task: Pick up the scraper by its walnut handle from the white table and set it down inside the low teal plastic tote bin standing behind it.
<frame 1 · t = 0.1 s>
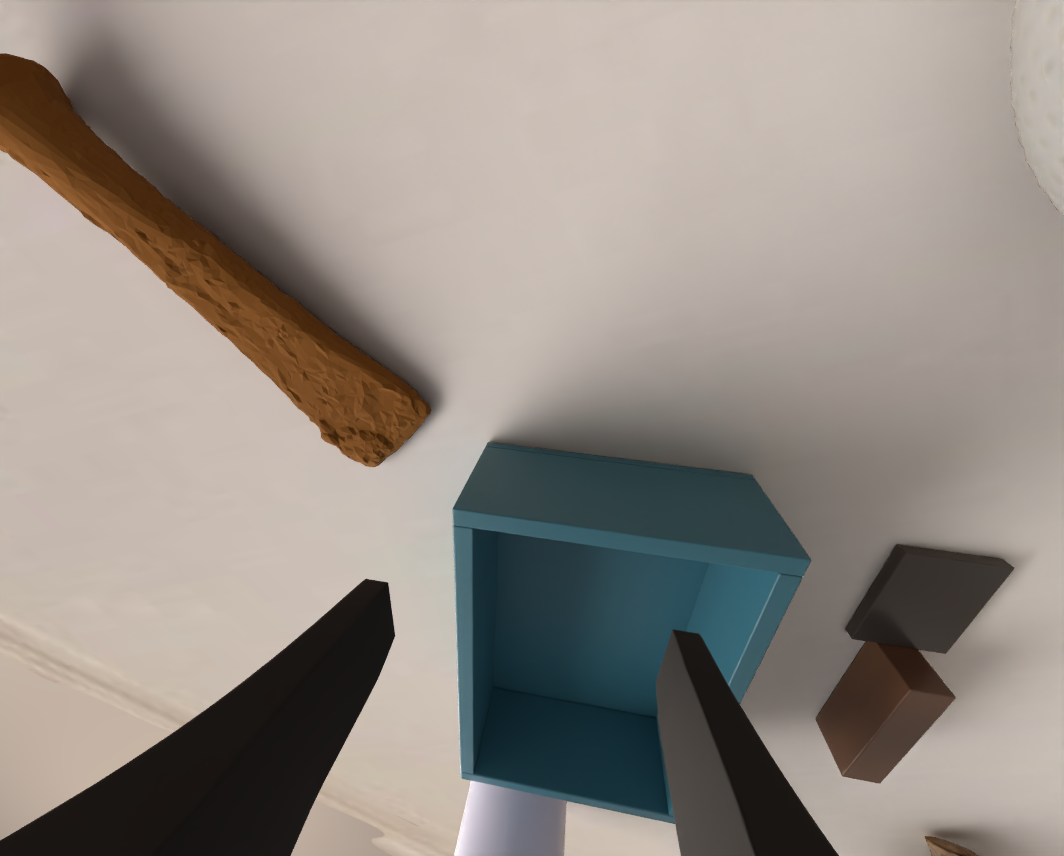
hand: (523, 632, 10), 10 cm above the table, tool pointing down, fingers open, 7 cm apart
scraper: (881, 648, 21), on the table
bin: (589, 601, 23), on the table
mushroom: (939, 844, 29), on the table
primitive tool: (263, 292, 18), on the table
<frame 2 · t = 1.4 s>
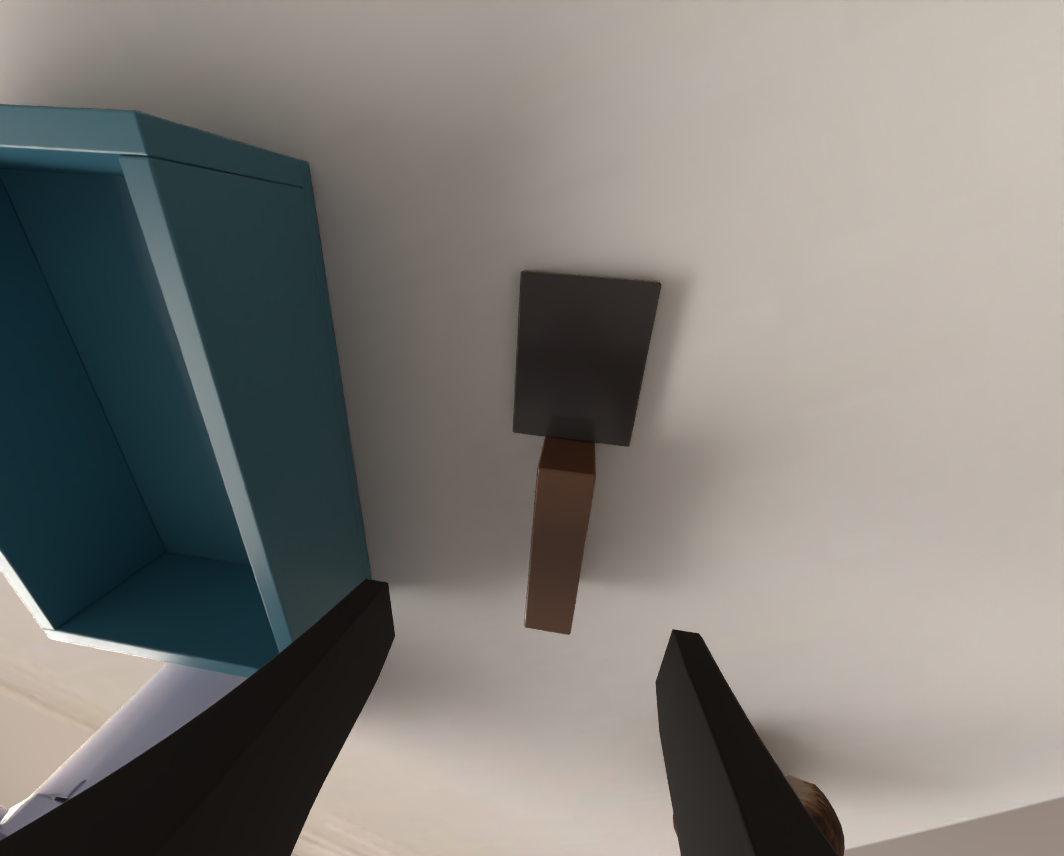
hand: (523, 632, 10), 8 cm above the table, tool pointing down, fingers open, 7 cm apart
scraper: (568, 454, 16), on the table
bin: (218, 410, 18), on the table
mushroom: (733, 753, 23), on the table
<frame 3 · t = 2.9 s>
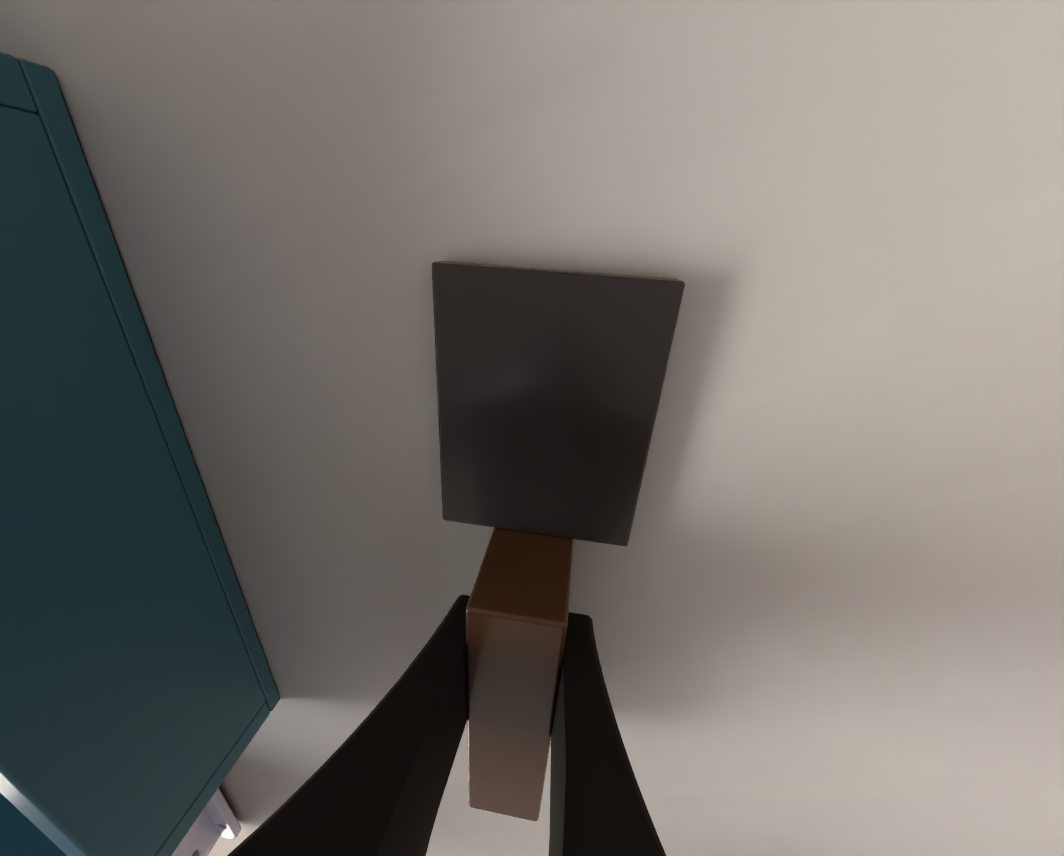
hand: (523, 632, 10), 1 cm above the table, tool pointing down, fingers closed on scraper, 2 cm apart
scraper: (533, 548, 11), on the table, touching gripper
bin: (25, 472, 12), on the table
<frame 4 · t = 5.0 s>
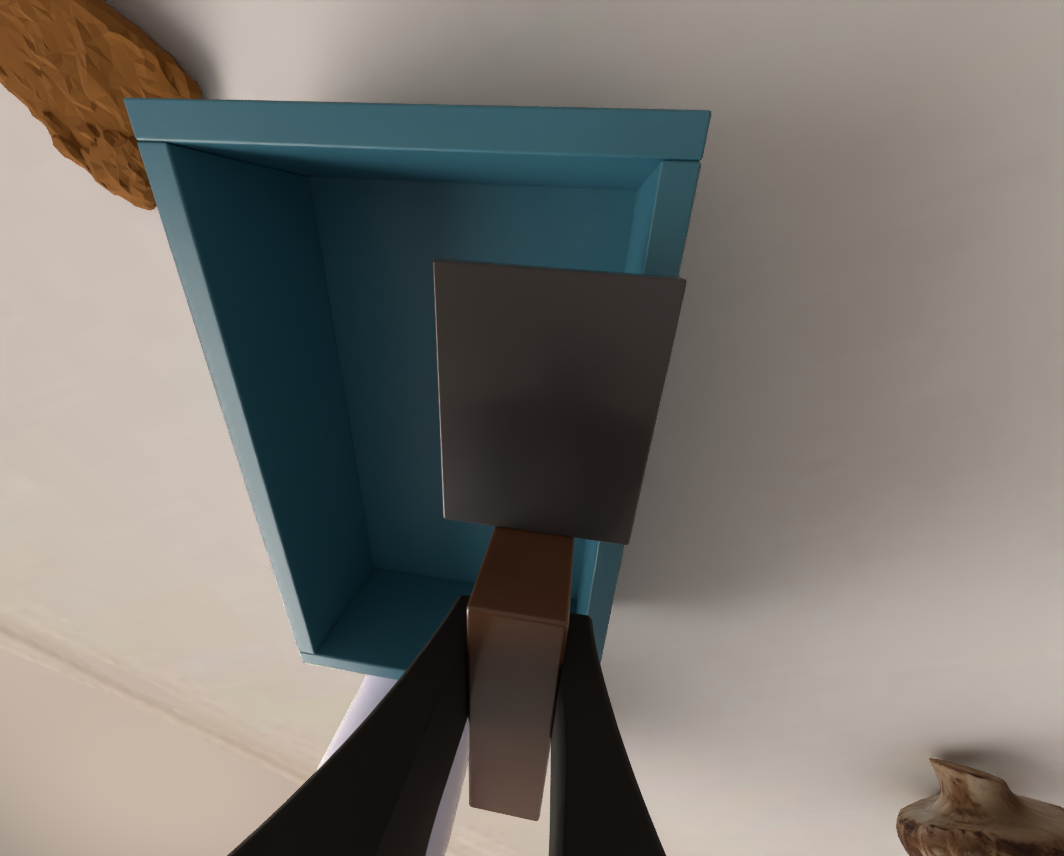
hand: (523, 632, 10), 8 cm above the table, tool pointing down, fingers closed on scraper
scraper: (534, 547, 10), point 7 cm above the table, touching gripper
bin: (473, 424, 17), on the table
mushroom: (947, 771, 23), on the table
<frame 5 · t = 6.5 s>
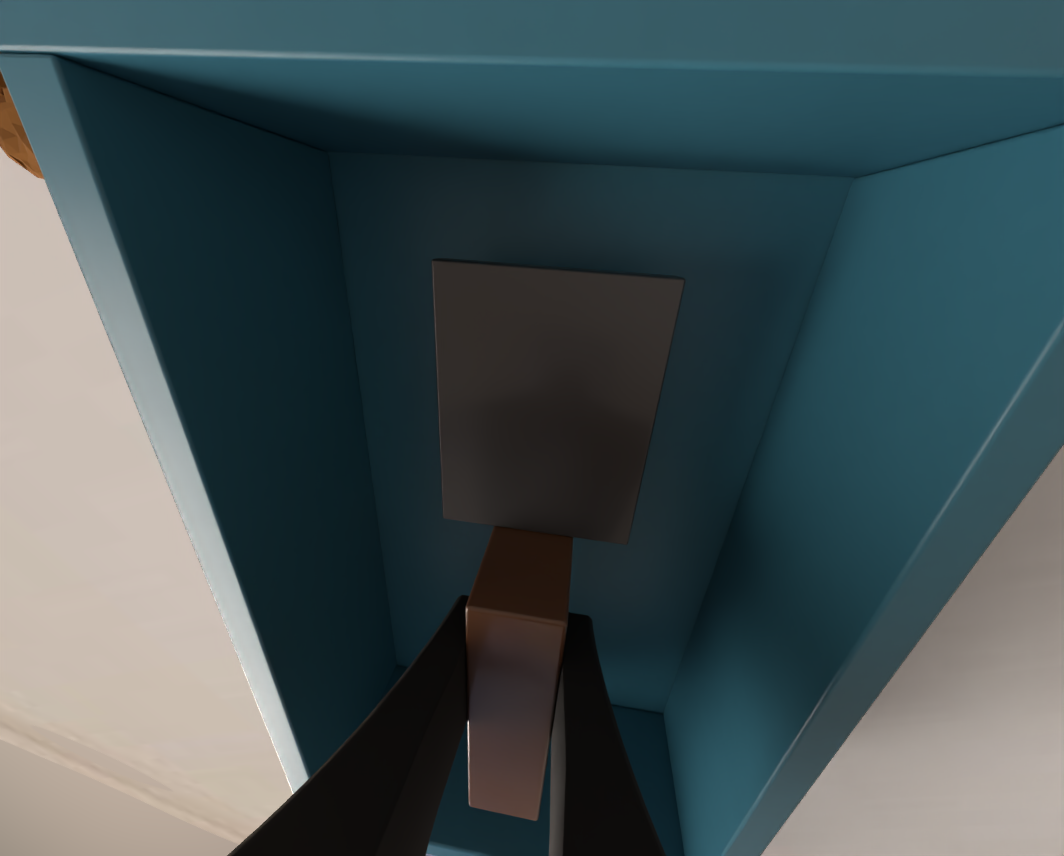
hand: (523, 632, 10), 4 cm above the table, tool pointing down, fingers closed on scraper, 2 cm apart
scraper: (533, 546, 10), point 2 cm above the table, touching gripper
bin: (543, 500, 13), on the table
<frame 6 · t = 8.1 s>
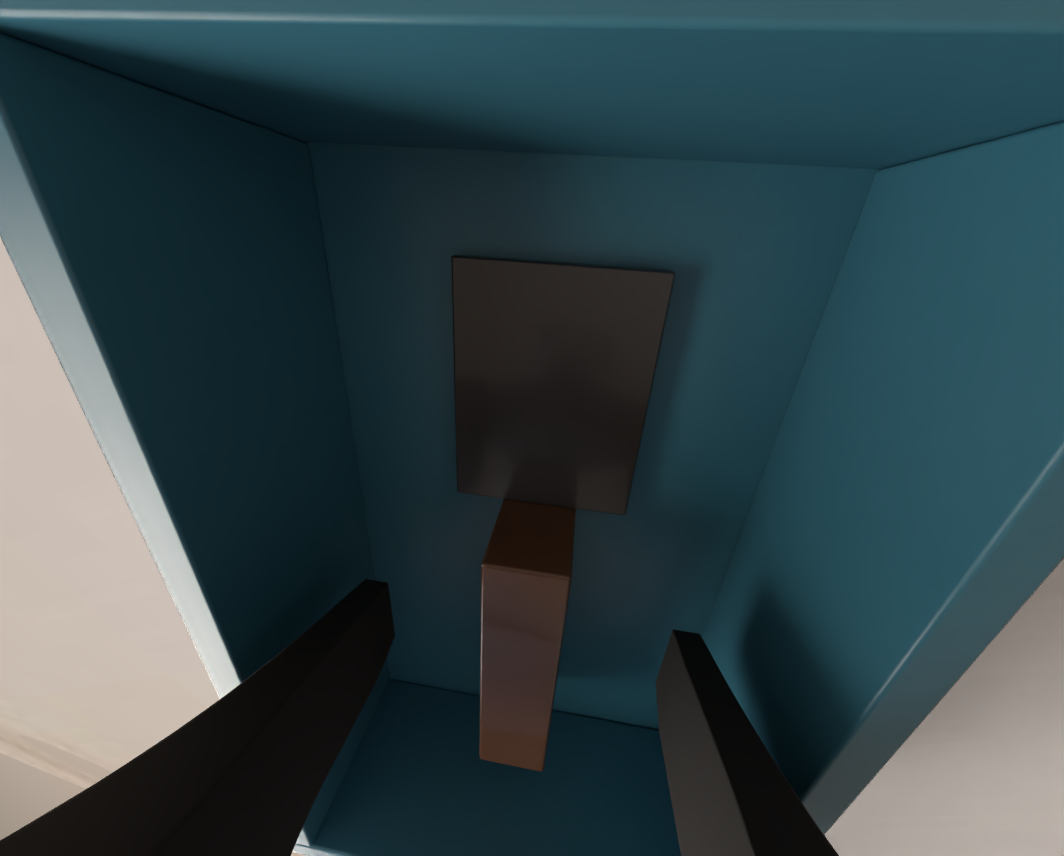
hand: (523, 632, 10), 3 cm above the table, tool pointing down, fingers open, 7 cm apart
scraper: (539, 520, 11), resting on bin
bin: (541, 511, 12), on the table
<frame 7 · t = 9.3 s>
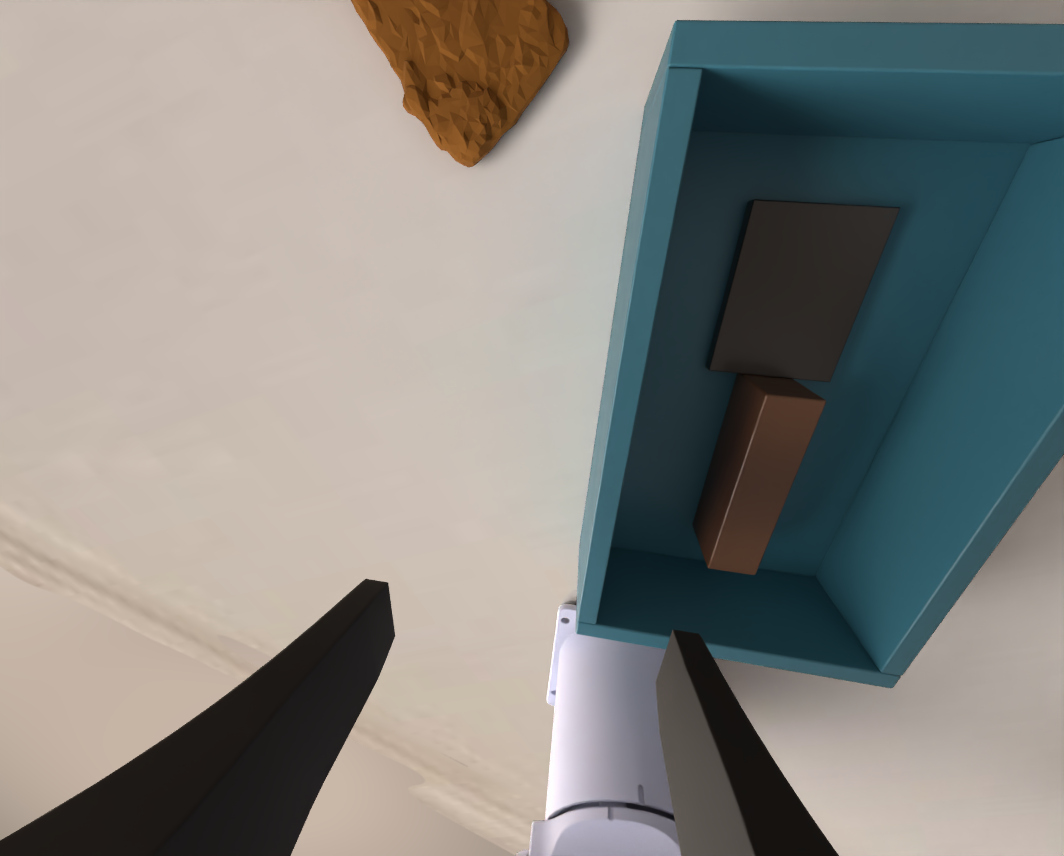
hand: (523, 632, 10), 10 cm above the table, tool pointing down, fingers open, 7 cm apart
scraper: (755, 395, 16), resting on bin
bin: (750, 393, 17), on the table
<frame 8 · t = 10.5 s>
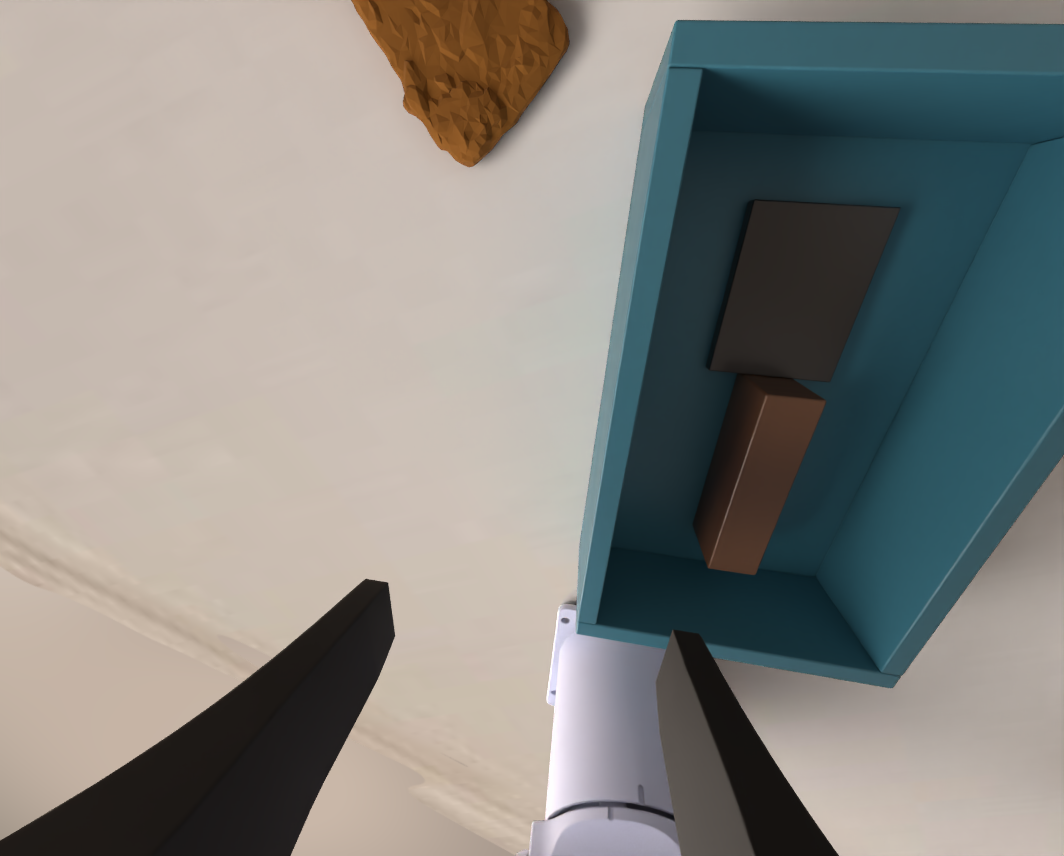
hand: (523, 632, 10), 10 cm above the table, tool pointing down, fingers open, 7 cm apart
scraper: (755, 395, 16), resting on bin
bin: (750, 393, 17), on the table
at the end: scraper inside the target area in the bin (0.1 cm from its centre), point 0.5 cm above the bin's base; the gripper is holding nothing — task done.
